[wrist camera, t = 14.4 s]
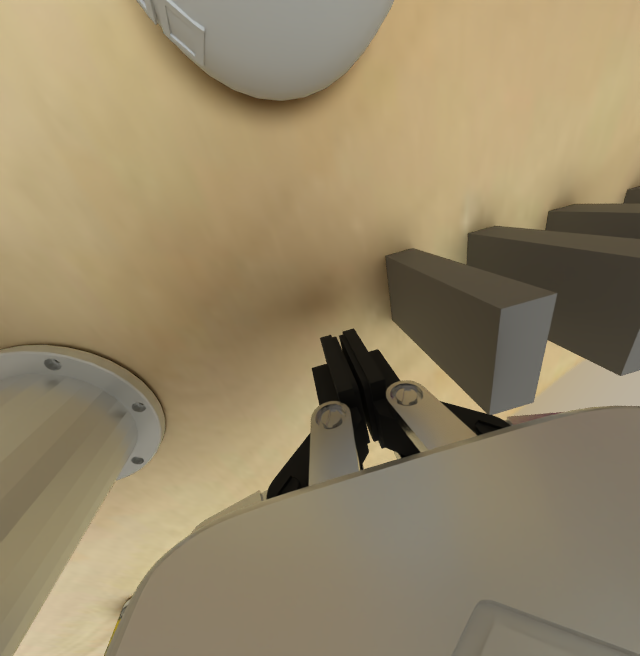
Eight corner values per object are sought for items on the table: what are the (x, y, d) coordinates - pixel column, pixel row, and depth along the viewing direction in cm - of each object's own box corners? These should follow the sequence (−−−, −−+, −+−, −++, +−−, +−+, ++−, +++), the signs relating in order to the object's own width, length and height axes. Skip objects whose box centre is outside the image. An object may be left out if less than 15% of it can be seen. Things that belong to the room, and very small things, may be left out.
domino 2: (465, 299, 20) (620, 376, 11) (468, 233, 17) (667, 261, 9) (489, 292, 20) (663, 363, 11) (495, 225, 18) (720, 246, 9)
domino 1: (392, 320, 20) (489, 415, 11) (385, 255, 17) (501, 309, 8) (416, 313, 20) (533, 402, 11) (413, 248, 17) (556, 293, 8)
